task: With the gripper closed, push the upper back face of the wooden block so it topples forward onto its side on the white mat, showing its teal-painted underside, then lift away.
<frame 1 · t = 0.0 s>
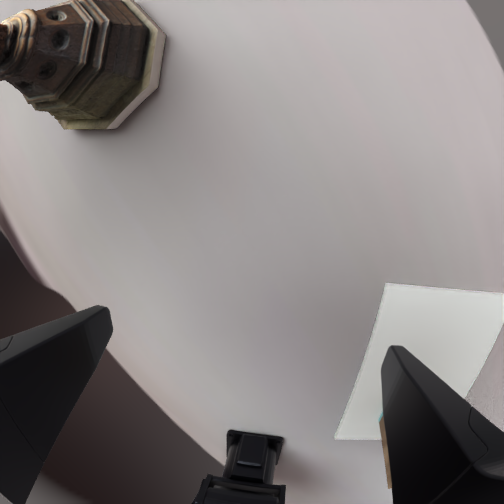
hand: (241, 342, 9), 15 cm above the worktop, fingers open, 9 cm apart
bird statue: (90, 91, 21), on the worktop
white mat: (422, 377, 26), on the worktop
wooden block: (409, 407, 27), resting on white mat
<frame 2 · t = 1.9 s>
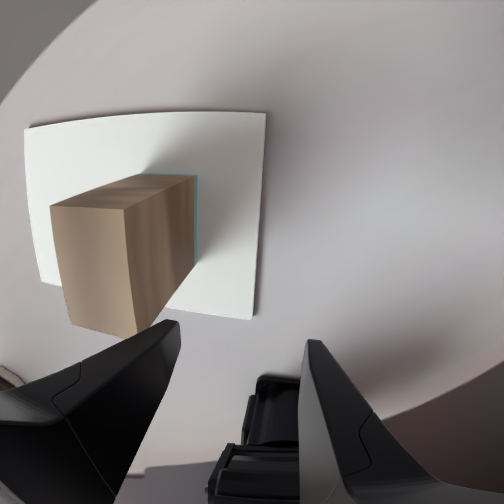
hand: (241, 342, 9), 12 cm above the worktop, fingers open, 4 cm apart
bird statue: (32, 404, 36), on the worktop
white mat: (121, 212, 21), on the worktop
wooden block: (168, 218, 21), resting on white mat
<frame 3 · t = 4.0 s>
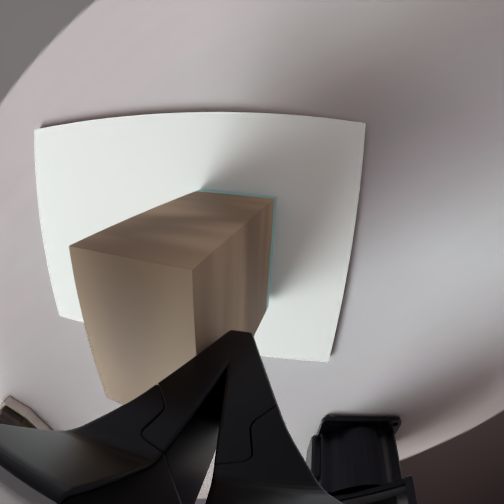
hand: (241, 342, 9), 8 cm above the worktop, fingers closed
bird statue: (46, 435, 32), on the worktop
white mat: (169, 238, 18), on the worktop
wooden block: (234, 249, 17), point 1 cm above the worktop, tilted 8°, touching white mat, gripper
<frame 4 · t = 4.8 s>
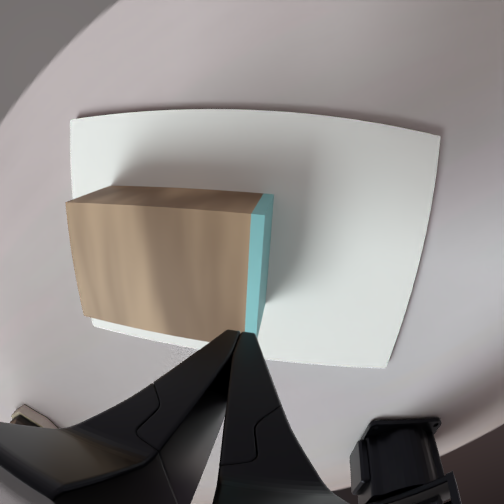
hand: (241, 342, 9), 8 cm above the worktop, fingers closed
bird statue: (62, 444, 32), on the worktop
white mat: (233, 245, 17), on the worktop
wooden block: (265, 268, 14), point 2 cm above the worktop, tilted 90°, touching white mat
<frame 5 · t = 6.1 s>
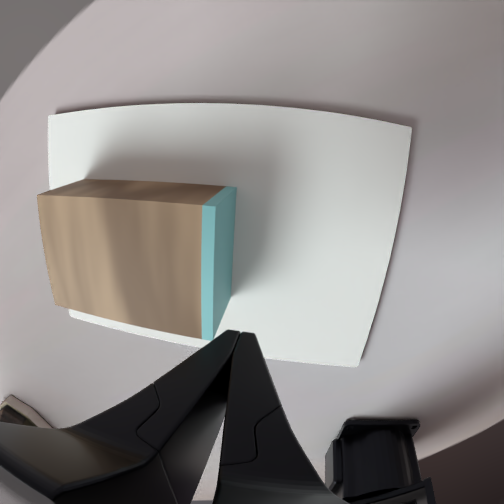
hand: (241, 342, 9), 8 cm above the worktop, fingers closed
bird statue: (48, 435, 32), on the worktop
white mat: (198, 238, 17), on the worktop
wooden block: (224, 261, 14), point 2 cm above the worktop, tilted 90°, touching white mat
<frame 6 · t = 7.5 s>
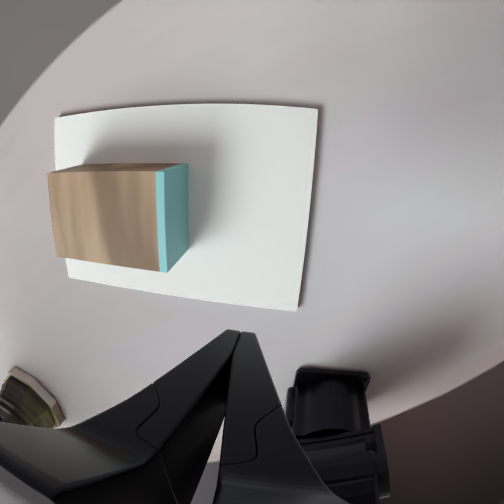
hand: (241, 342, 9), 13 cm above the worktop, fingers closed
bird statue: (47, 405, 37), on the worktop
white mat: (164, 204, 22), on the worktop
wooden block: (177, 215, 19), point 2 cm above the worktop, tilted 90°, touching white mat
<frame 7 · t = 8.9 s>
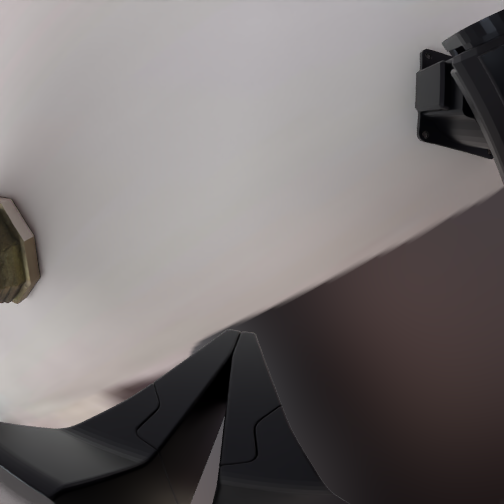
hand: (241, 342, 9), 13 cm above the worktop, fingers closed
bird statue: (20, 259, 27), on the worktop
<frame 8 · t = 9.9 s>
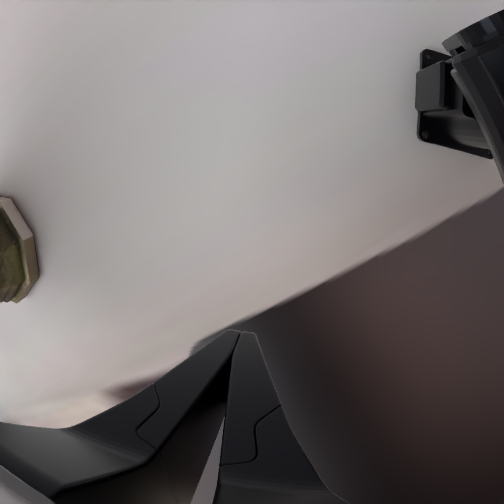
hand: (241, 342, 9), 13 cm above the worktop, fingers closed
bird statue: (19, 259, 27), on the worktop
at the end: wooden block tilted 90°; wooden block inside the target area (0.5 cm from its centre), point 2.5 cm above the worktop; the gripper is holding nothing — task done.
